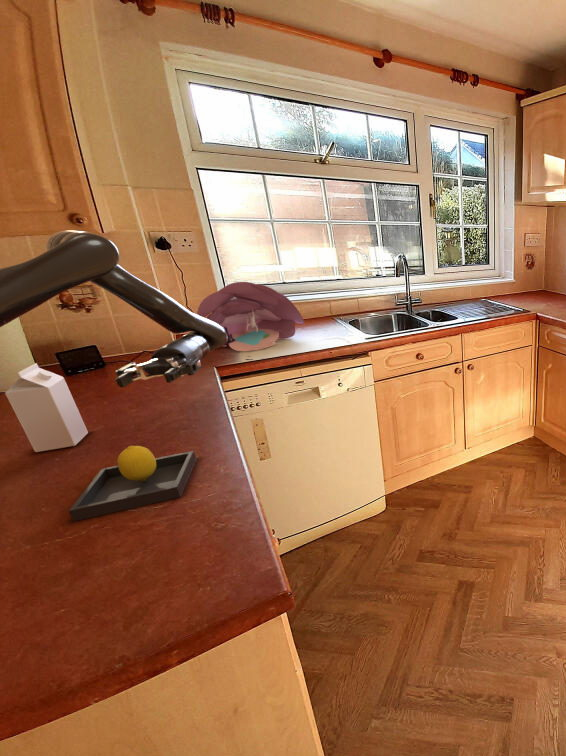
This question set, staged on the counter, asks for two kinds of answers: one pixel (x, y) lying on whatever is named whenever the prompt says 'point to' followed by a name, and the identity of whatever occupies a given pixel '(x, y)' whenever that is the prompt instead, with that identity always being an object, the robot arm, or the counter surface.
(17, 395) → the milk carton
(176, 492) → the dark grey tray
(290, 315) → the purple shell playset
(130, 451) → the lemon
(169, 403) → the counter surface
